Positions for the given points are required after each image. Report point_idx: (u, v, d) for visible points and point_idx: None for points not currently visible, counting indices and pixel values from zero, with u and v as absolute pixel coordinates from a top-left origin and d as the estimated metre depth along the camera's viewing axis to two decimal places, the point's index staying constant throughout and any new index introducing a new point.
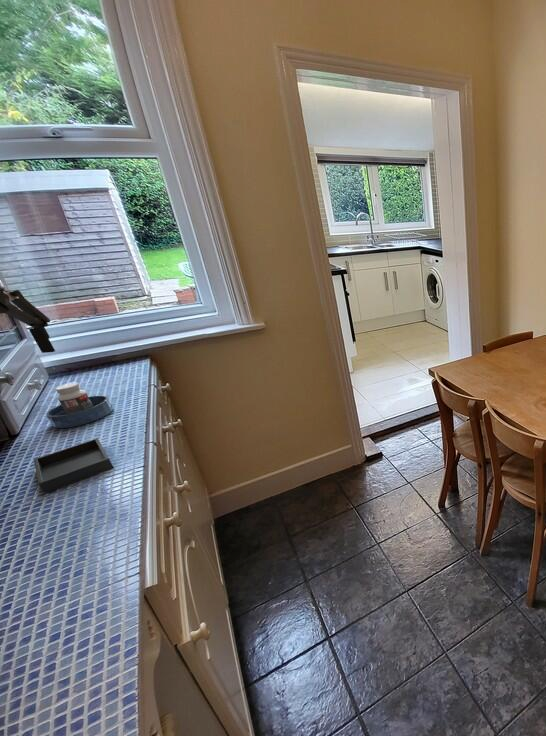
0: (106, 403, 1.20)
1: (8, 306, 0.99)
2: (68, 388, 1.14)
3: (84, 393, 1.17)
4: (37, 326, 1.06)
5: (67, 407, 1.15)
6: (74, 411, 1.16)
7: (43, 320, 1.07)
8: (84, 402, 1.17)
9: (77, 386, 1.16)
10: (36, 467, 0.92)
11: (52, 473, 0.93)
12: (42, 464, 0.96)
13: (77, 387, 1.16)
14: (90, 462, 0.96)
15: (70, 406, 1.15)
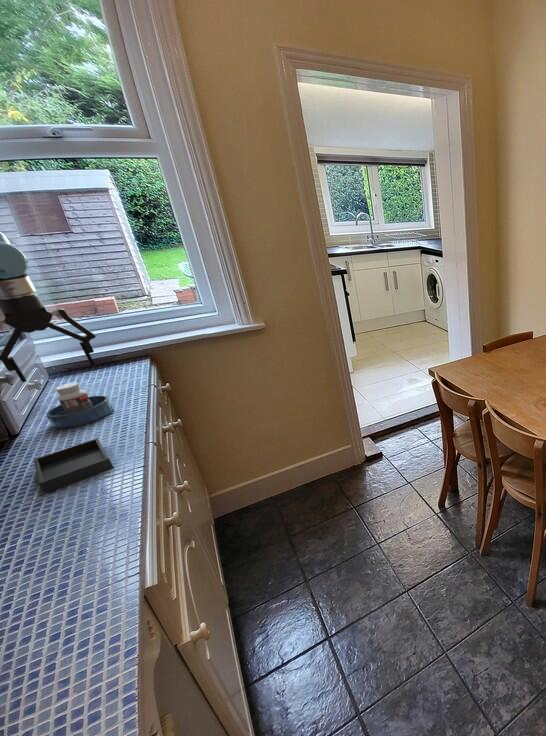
0: (106, 403, 1.20)
1: (45, 324, 1.08)
2: (68, 388, 1.14)
3: (84, 393, 1.17)
4: (82, 341, 1.15)
5: (67, 407, 1.15)
6: (74, 411, 1.16)
7: (88, 336, 1.15)
8: (84, 402, 1.17)
9: (77, 386, 1.16)
10: (36, 467, 0.92)
11: (52, 473, 0.93)
12: (42, 464, 0.96)
13: (77, 387, 1.16)
14: (90, 462, 0.96)
15: (70, 406, 1.15)
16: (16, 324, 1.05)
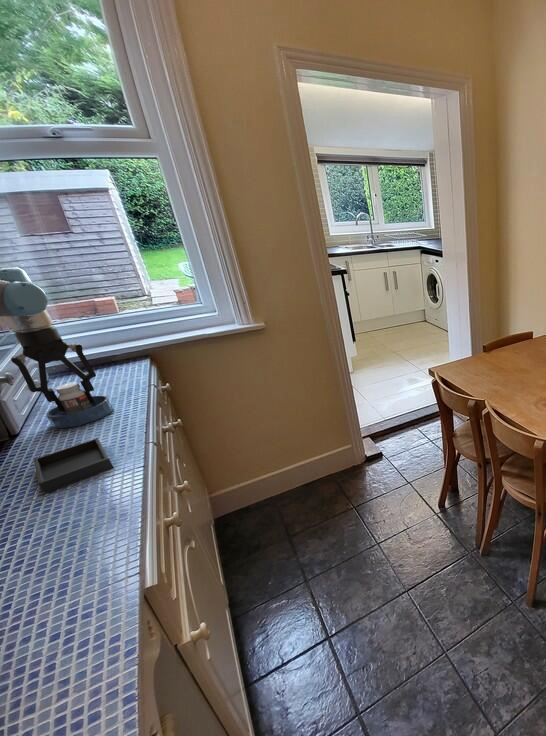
0: (106, 403, 1.20)
1: (58, 357, 1.11)
2: (68, 388, 1.14)
3: (83, 393, 1.17)
4: (82, 379, 1.17)
5: (67, 407, 1.15)
6: (74, 411, 1.16)
7: (89, 374, 1.17)
8: (84, 402, 1.17)
9: (77, 386, 1.16)
10: (36, 467, 0.92)
11: (52, 473, 0.93)
12: (42, 464, 0.96)
13: (77, 387, 1.16)
14: (90, 462, 0.96)
15: (70, 406, 1.15)
16: (36, 357, 1.09)
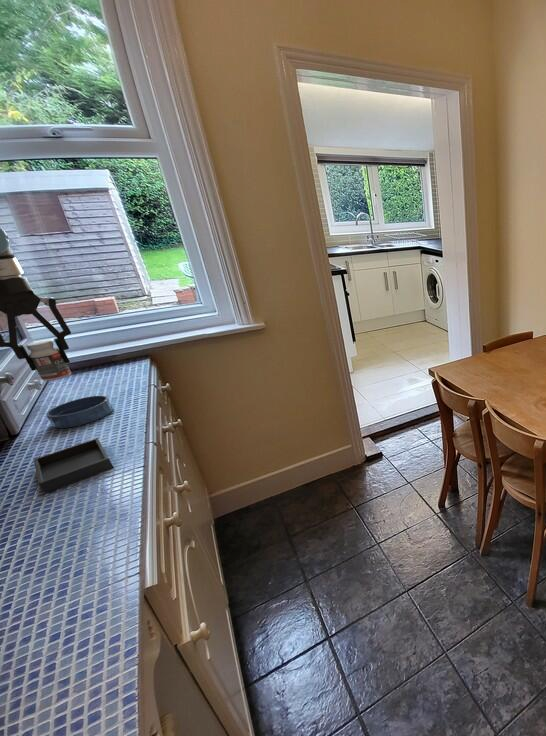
0: (106, 403, 1.20)
1: (29, 310, 1.04)
2: (40, 344, 1.06)
3: (57, 351, 1.09)
4: None
5: (39, 366, 1.07)
6: (46, 370, 1.08)
7: (63, 331, 1.10)
8: (58, 361, 1.09)
9: (50, 343, 1.08)
10: (36, 467, 0.92)
11: (52, 473, 0.93)
12: (42, 464, 0.96)
13: (50, 344, 1.08)
14: (90, 462, 0.96)
15: (42, 364, 1.07)
16: (4, 309, 1.01)
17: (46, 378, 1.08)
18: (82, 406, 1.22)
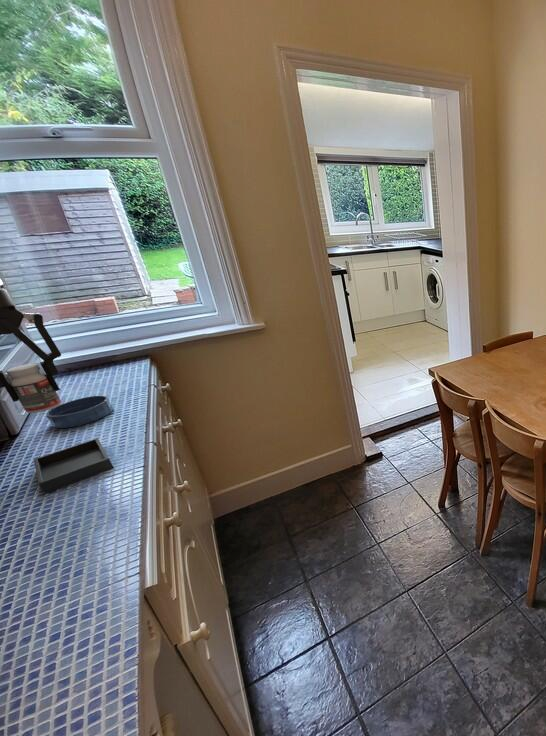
0: (106, 403, 1.20)
1: (9, 328, 0.85)
2: (23, 370, 0.88)
3: (44, 377, 0.91)
4: None
5: (22, 395, 0.89)
6: (31, 400, 0.89)
7: (52, 353, 0.91)
8: (45, 389, 0.91)
9: (36, 368, 0.90)
10: (36, 467, 0.92)
11: (52, 473, 0.93)
12: (42, 464, 0.96)
13: (36, 369, 0.90)
14: (90, 462, 0.96)
15: (26, 393, 0.89)
16: None
17: (31, 410, 0.90)
18: (82, 406, 1.22)
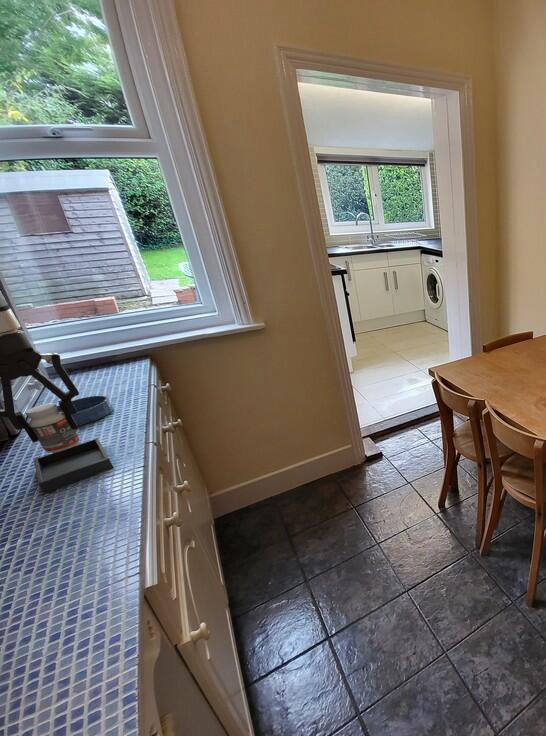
0: (106, 403, 1.20)
1: (28, 371, 0.85)
2: (42, 411, 0.87)
3: (63, 416, 0.91)
4: None
5: (41, 436, 0.88)
6: (50, 441, 0.89)
7: (70, 392, 0.91)
8: (63, 428, 0.90)
9: (54, 408, 0.89)
10: (36, 467, 0.92)
11: (52, 473, 0.93)
12: (42, 464, 0.96)
13: (54, 409, 0.89)
14: (90, 462, 0.96)
15: (45, 434, 0.88)
16: None
17: (50, 450, 0.90)
18: (82, 406, 1.22)
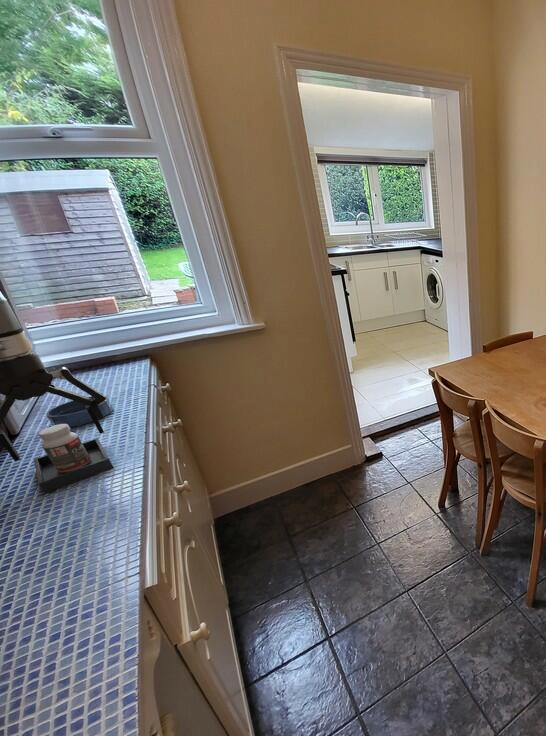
0: (106, 403, 1.20)
1: (43, 389, 0.87)
2: (55, 432, 0.90)
3: (75, 437, 0.93)
4: (89, 405, 0.94)
5: (54, 457, 0.90)
6: (62, 461, 0.91)
7: (97, 399, 0.94)
8: (75, 449, 0.93)
9: (66, 429, 0.91)
10: (36, 467, 0.92)
11: (52, 473, 0.93)
12: (42, 464, 0.96)
13: (66, 430, 0.91)
14: (90, 462, 0.96)
15: (57, 455, 0.90)
16: (8, 391, 0.84)
17: (62, 470, 0.92)
18: (82, 406, 1.22)
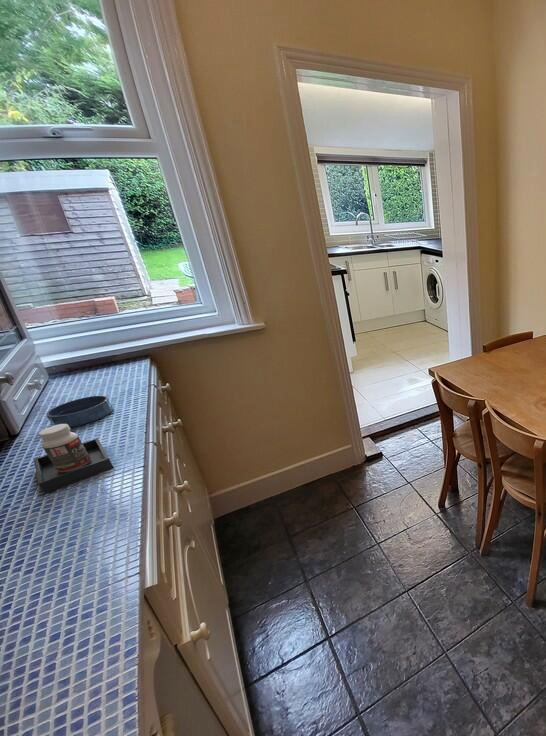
0: (106, 403, 1.20)
1: None
2: (55, 432, 0.90)
3: (75, 437, 0.93)
4: None
5: (54, 457, 0.90)
6: (62, 461, 0.91)
7: None
8: (75, 449, 0.93)
9: (66, 429, 0.91)
10: (36, 467, 0.92)
11: (52, 473, 0.93)
12: (42, 464, 0.96)
13: (66, 430, 0.91)
14: (90, 462, 0.96)
15: (57, 455, 0.90)
16: None
17: (62, 470, 0.92)
18: (82, 406, 1.22)
